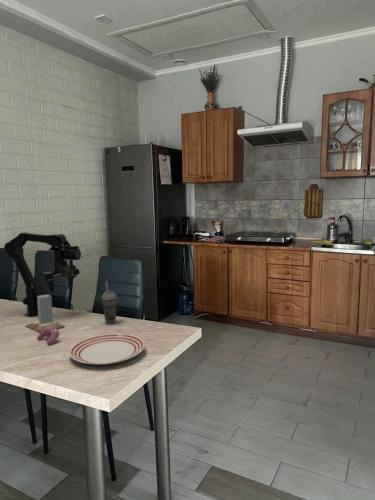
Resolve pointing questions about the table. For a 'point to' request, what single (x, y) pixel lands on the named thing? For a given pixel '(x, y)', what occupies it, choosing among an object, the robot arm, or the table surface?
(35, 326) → the build board
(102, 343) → the dinner plate
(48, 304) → the slate pillar block
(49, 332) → the video game controller
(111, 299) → the beverage cup
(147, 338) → the table surface
